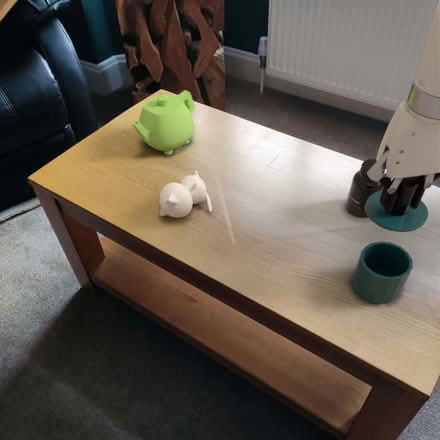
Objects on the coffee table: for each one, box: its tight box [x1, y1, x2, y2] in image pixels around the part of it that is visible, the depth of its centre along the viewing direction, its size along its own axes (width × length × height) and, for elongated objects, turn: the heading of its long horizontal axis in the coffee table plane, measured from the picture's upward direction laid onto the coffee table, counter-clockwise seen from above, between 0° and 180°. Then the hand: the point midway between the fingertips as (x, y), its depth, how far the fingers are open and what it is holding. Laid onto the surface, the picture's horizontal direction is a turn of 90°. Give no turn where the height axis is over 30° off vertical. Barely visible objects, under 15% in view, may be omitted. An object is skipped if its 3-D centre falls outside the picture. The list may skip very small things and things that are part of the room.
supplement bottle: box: [345, 158, 386, 219], centre depth 93 cm, size 7×7×12 cm
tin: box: [351, 240, 414, 305], centre depth 82 cm, size 9×9×7 cm
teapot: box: [131, 89, 196, 155], centre depth 111 cm, size 20×13×13 cm
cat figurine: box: [158, 170, 213, 219], centre depth 97 cm, size 9×11×12 cm
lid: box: [365, 176, 429, 233], centre depth 69 cm, size 10×10×7 cm
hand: (398, 204), depth 71 cm, fingers closed on lid, 3 cm apart
